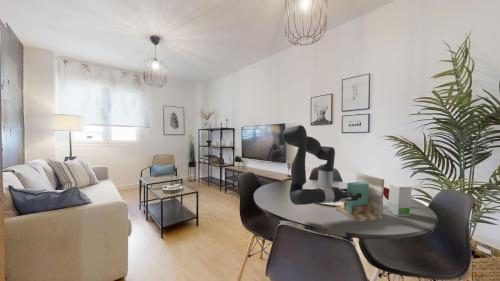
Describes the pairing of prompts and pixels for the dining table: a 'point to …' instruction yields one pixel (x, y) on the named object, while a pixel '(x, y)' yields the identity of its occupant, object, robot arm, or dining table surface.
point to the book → (355, 188)
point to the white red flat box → (387, 193)
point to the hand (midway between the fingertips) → (354, 192)
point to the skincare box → (399, 199)
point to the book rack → (374, 200)
